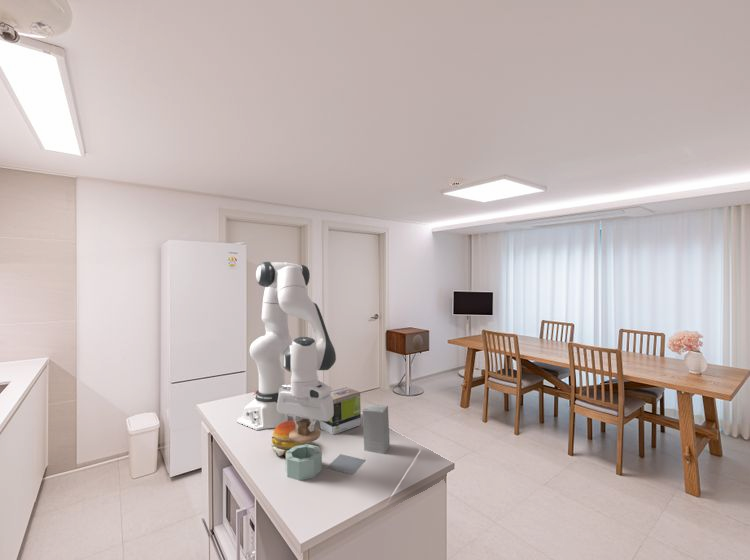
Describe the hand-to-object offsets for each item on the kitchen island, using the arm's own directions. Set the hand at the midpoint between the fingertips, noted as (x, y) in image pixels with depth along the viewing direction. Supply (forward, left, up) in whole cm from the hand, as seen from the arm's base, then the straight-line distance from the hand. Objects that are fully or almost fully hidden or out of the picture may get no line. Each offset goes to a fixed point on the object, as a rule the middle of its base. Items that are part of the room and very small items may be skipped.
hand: (304, 429), depth 114 cm
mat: (+11, +9, -14) cm, 19 cm away
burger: (-13, +10, -14) cm, 22 cm away
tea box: (-6, +35, -14) cm, 38 cm away
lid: (0, 0, -2) cm, 2 cm away
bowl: (0, 0, -14) cm, 14 cm away
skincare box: (+16, +23, -14) cm, 31 cm away
